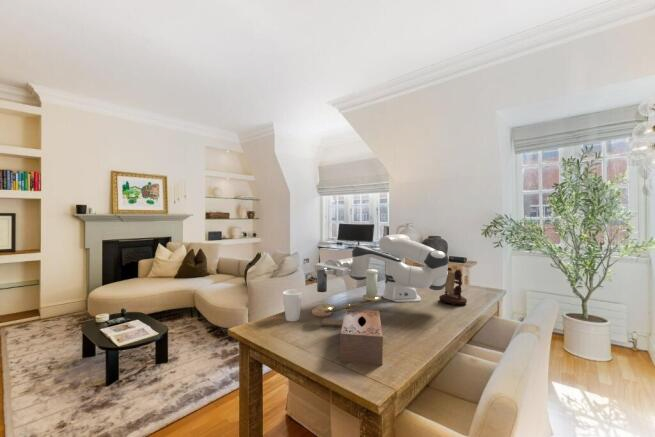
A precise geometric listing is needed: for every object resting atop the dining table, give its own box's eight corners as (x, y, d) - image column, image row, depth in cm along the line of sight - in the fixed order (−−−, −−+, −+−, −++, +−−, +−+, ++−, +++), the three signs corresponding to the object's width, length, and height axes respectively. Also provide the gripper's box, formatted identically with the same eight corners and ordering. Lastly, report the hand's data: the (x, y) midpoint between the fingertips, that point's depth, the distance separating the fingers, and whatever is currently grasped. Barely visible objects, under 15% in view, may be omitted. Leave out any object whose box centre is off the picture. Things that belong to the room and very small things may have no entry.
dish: (332, 310, 151) (332, 308, 151) (330, 317, 141) (330, 314, 141) (313, 309, 152) (313, 307, 152) (310, 316, 142) (310, 313, 142)
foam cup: (303, 316, 142) (304, 290, 142) (300, 323, 133) (300, 295, 133) (285, 315, 143) (285, 289, 143) (280, 322, 134) (280, 294, 134)
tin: (327, 289, 148) (327, 266, 148) (326, 292, 143) (326, 268, 143) (317, 289, 149) (317, 266, 149) (316, 292, 144) (316, 268, 144)
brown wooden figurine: (433, 300, 171) (434, 267, 171) (451, 297, 177) (452, 265, 177) (454, 307, 158) (454, 271, 157) (472, 304, 164) (473, 270, 163)
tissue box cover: (345, 331, 124) (345, 309, 124) (378, 334, 122) (379, 311, 122) (340, 362, 99) (340, 333, 99) (382, 365, 97) (382, 336, 97)
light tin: (377, 295, 132) (377, 269, 132) (377, 298, 127) (378, 271, 127) (365, 294, 133) (366, 269, 132) (366, 297, 127) (366, 271, 127)
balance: (379, 323, 133) (379, 294, 133) (380, 330, 126) (381, 299, 125) (317, 320, 137) (318, 291, 136) (315, 326, 129) (315, 296, 128)
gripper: (353, 276, 148) (335, 281, 138) (325, 270, 162) (307, 274, 152) (353, 264, 148) (335, 268, 138) (325, 259, 162) (307, 262, 152)
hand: (320, 271), depth 145 cm, fingers closed on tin, 5 cm apart
